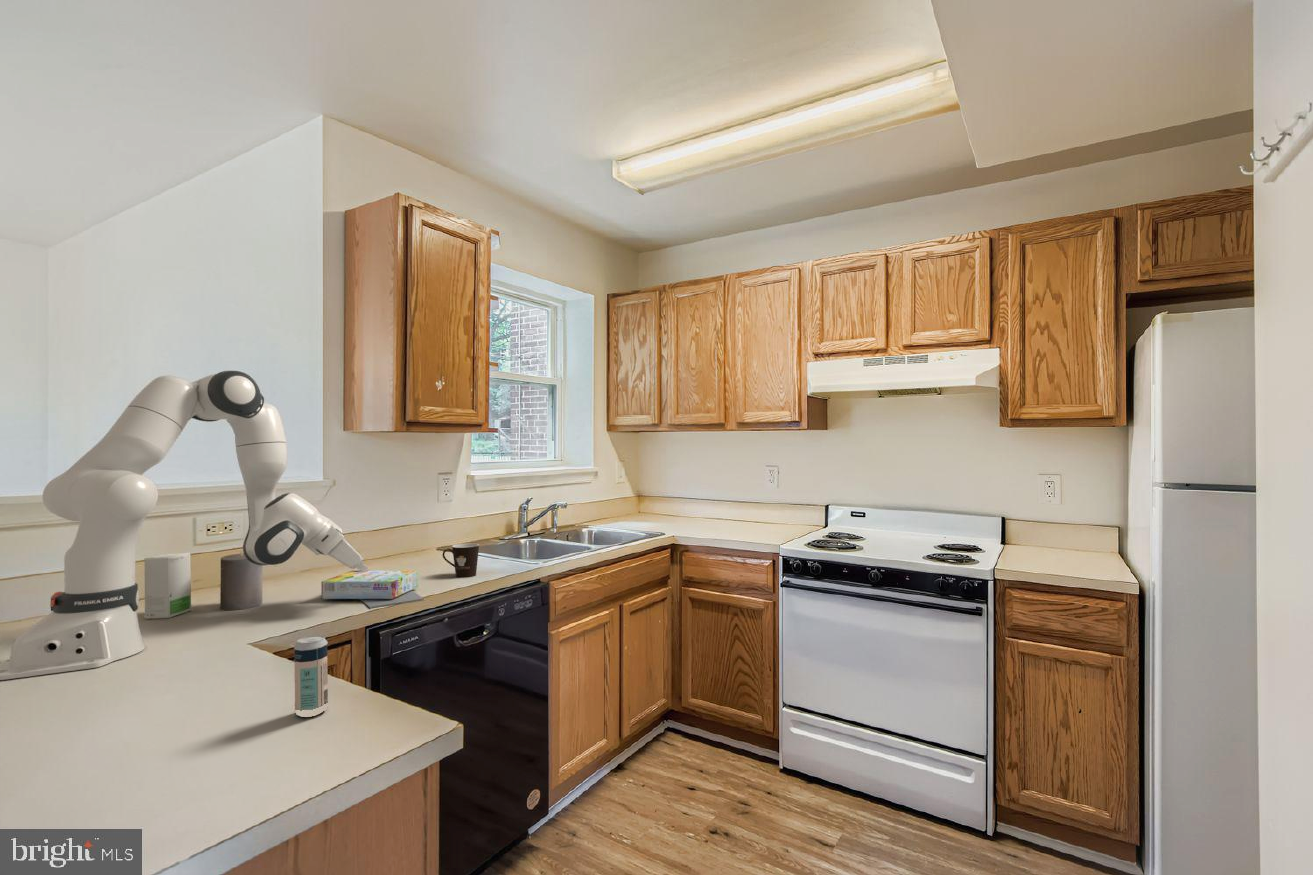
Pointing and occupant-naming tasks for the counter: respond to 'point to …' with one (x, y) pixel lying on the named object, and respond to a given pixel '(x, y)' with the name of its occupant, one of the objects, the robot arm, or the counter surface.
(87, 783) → the counter surface
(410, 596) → the mat
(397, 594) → the snack box
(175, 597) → the skincare box
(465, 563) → the coffee mug
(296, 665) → the supplement bottle
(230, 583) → the pillar candle
